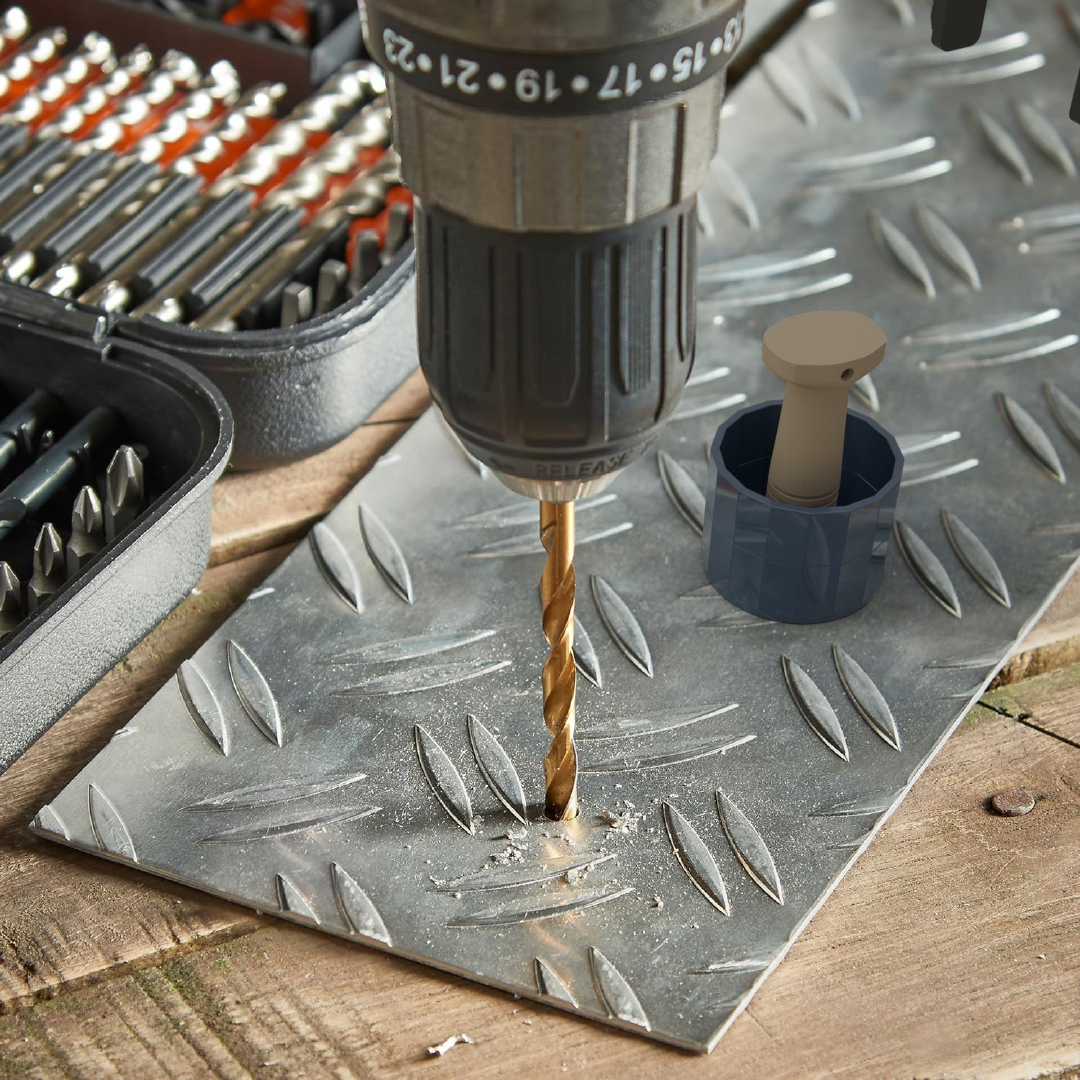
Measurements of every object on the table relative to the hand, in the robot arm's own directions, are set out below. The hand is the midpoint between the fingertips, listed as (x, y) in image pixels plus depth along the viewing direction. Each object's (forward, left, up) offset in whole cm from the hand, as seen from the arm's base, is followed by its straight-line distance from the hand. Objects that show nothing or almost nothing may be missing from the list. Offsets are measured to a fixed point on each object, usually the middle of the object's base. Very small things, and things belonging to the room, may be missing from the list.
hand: (1020, 81), depth 64 cm
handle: (+2, -8, -32) cm, 33 cm away
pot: (+2, -8, -32) cm, 33 cm away
